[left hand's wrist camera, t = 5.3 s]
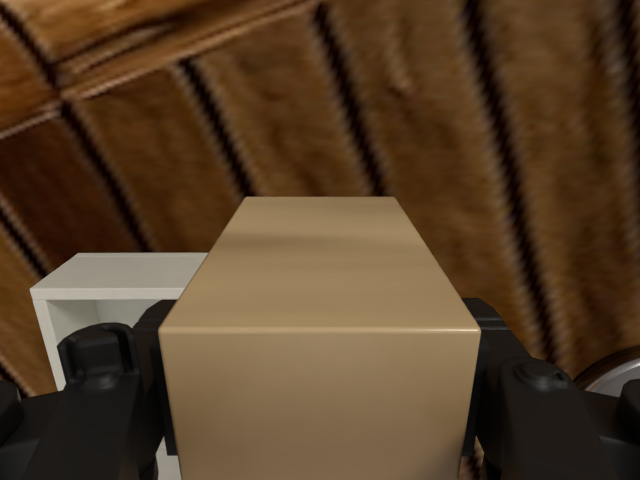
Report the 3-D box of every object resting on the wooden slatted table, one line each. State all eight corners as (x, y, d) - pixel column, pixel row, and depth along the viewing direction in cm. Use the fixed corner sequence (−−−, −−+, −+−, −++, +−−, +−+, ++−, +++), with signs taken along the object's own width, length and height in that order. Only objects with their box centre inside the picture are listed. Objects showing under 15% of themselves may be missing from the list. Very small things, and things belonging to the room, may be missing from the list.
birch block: (387, 326, 16) (449, 551, 8) (253, 326, 16) (190, 551, 8) (395, 196, 14) (484, 329, 6) (244, 196, 14) (154, 329, 6)
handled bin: (271, 499, 40) (253, 664, 29) (133, 500, 40) (62, 666, 28) (256, 252, 31) (221, 352, 19) (78, 252, 30) (-61, 353, 19)
